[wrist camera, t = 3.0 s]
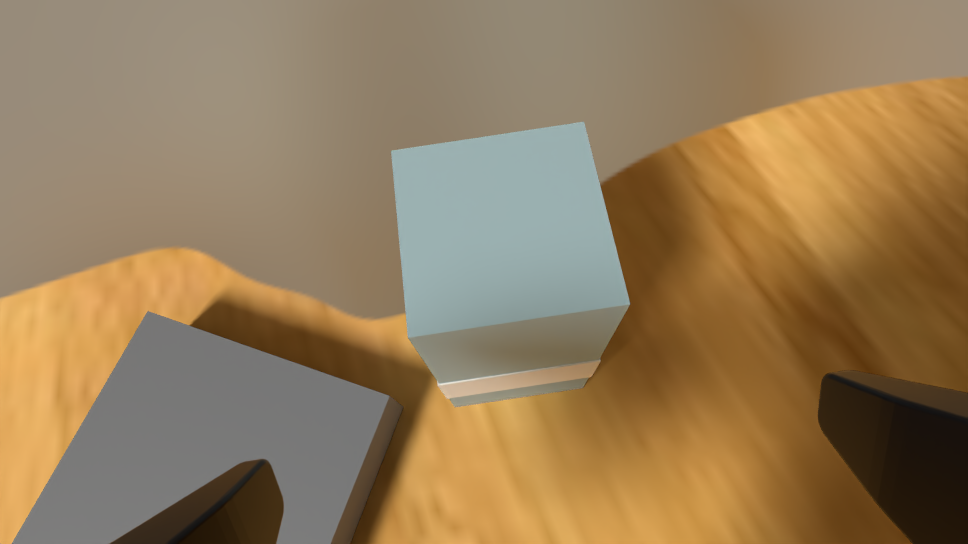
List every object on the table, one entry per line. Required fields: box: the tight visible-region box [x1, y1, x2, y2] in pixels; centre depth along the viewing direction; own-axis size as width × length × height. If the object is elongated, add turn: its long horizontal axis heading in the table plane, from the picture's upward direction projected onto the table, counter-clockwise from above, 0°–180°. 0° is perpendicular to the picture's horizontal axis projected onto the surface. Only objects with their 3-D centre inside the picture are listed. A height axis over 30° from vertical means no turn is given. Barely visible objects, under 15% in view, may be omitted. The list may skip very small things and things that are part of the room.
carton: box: [391, 122, 630, 407], centre depth 18 cm, size 5×5×10 cm
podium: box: [12, 311, 403, 544], centre depth 20 cm, size 10×10×2 cm
